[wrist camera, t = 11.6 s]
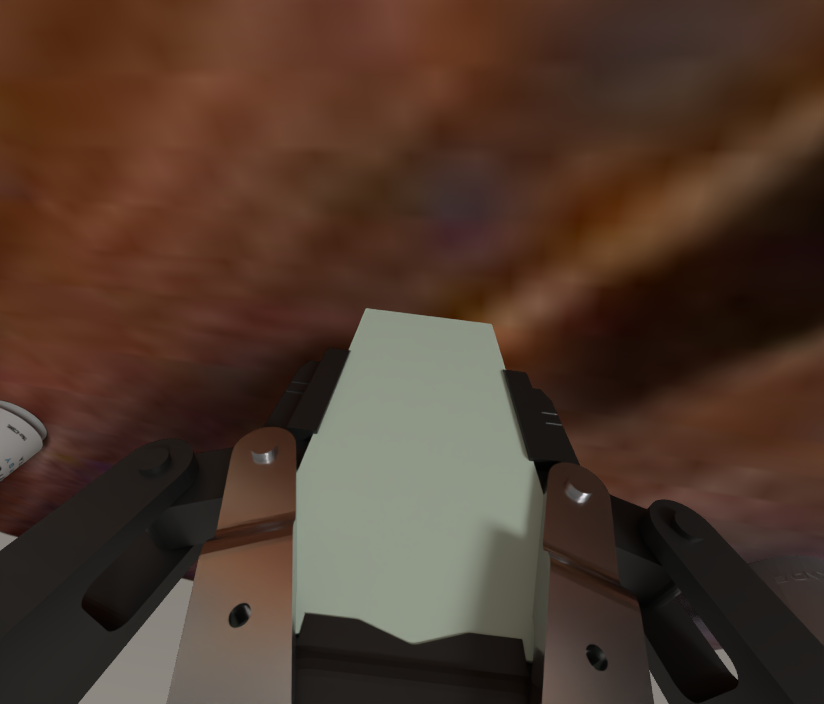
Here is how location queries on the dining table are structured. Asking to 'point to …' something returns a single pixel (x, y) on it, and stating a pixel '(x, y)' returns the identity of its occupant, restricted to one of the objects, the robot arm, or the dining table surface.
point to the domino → (420, 489)
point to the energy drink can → (18, 437)
